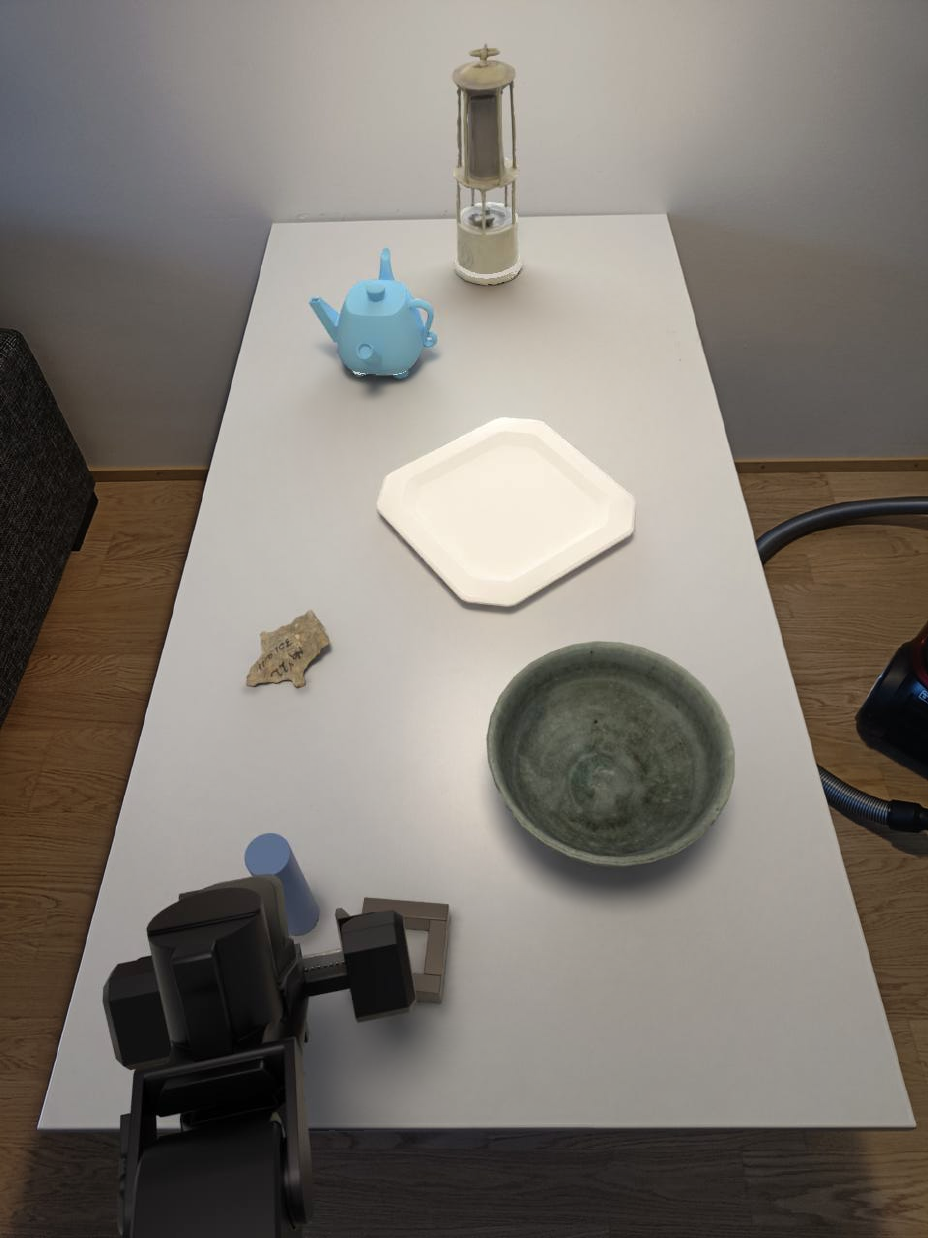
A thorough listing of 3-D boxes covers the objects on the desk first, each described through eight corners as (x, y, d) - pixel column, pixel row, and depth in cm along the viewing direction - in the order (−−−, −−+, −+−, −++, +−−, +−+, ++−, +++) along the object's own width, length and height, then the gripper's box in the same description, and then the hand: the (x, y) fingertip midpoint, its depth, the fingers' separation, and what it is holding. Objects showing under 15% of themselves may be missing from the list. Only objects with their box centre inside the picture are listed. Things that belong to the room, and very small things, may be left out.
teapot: (311, 351, 124) (297, 278, 115) (393, 316, 128) (386, 242, 119) (369, 408, 116) (358, 335, 107) (454, 368, 121) (451, 294, 111)
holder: (441, 1003, 71) (439, 993, 69) (354, 995, 72) (349, 985, 69) (450, 916, 75) (448, 903, 73) (368, 909, 76) (364, 896, 74)
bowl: (736, 739, 85) (761, 683, 77) (678, 943, 74) (701, 902, 66) (533, 671, 90) (537, 612, 82) (451, 851, 79) (446, 802, 71)
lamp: (453, 286, 132) (443, 66, 109) (456, 239, 140) (448, 24, 116) (522, 285, 132) (528, 64, 108) (521, 238, 140) (526, 22, 116)
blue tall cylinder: (309, 940, 75) (278, 882, 64) (273, 928, 75) (236, 869, 64) (325, 902, 76) (297, 839, 66) (289, 891, 77) (256, 827, 66)
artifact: (223, 657, 89) (300, 595, 91) (230, 664, 92) (305, 604, 94) (267, 711, 88) (345, 647, 90) (273, 716, 91) (348, 654, 93)
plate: (522, 416, 114) (522, 403, 112) (655, 528, 102) (658, 515, 100) (360, 500, 106) (357, 487, 104) (484, 633, 93) (483, 621, 92)
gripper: (393, 891, 48) (386, 797, 64) (44, 960, 47) (123, 846, 62) (425, 1075, 50) (410, 940, 65) (89, 1147, 48) (155, 991, 64)
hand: (277, 926), depth 64 cm, fingers open, 9 cm apart
